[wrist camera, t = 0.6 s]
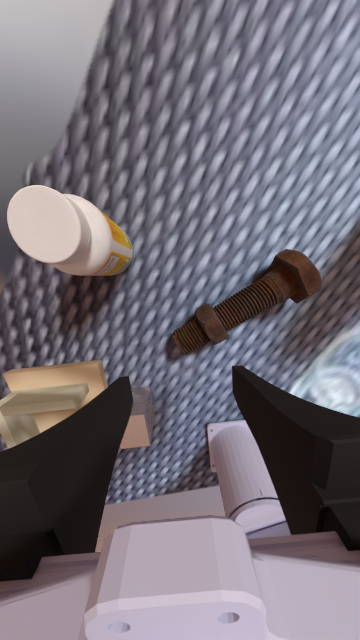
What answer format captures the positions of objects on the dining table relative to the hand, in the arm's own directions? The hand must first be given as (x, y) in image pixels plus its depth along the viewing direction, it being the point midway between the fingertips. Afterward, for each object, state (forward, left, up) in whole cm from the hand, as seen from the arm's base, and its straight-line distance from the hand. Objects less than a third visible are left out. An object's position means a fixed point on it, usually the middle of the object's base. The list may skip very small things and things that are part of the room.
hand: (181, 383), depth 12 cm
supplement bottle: (+11, +7, -10) cm, 16 cm away
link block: (-9, +7, -10) cm, 15 cm away
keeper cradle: (-9, +17, -10) cm, 21 cm away
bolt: (+3, -6, -11) cm, 13 cm away
